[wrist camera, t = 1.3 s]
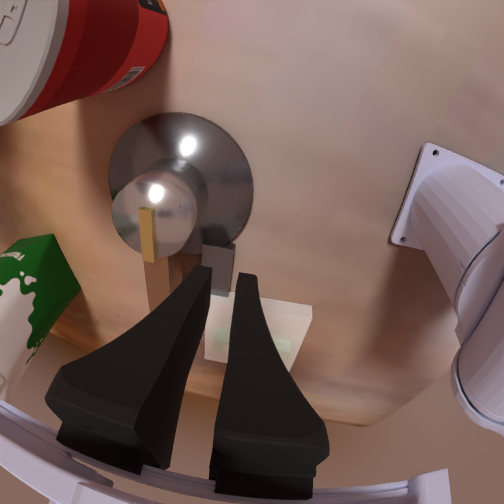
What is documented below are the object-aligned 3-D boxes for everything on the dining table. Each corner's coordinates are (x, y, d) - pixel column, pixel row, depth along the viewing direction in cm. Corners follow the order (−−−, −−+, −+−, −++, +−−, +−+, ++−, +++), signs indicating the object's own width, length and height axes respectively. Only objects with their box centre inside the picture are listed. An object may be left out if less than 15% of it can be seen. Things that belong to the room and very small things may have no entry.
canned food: (191, -4, 13) (91, -57, 4) (148, 102, 17) (31, 150, 8) (99, -17, 12) (-18, -33, 3) (67, 78, 16) (-50, 116, 7)
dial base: (264, 122, 18) (263, 125, 17) (238, 293, 26) (236, 301, 25) (110, 110, 18) (102, 112, 17) (123, 269, 26) (118, 276, 25)
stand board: (311, 305, 26) (312, 336, 23) (289, 362, 31) (287, 389, 28) (210, 287, 26) (200, 316, 23) (207, 347, 31) (200, 374, 28)
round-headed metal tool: (141, 154, 19) (105, 180, 15) (210, 162, 19) (187, 191, 15) (151, 301, 27) (132, 339, 23) (202, 312, 27) (188, 353, 23)
